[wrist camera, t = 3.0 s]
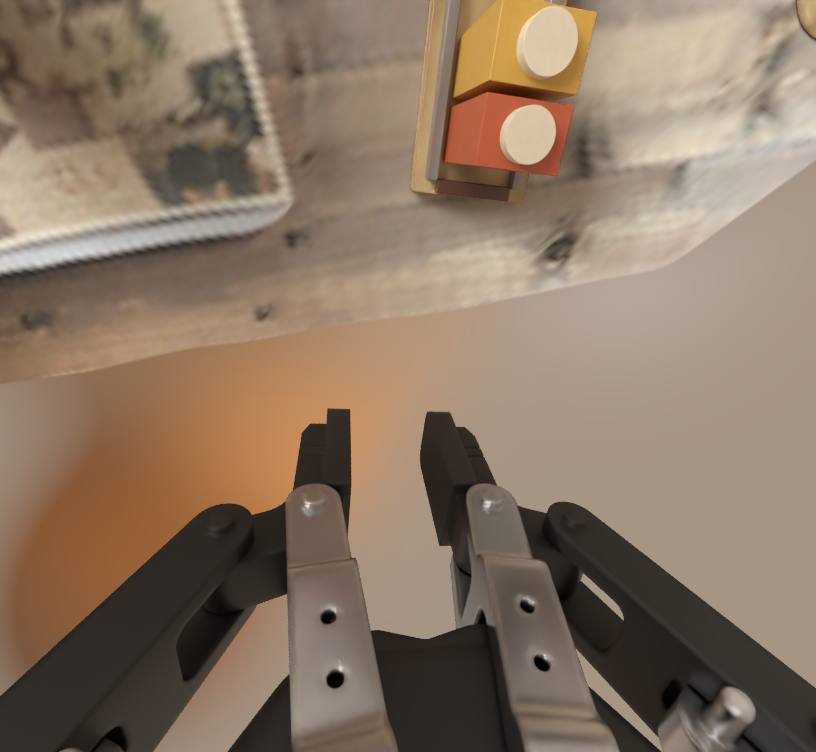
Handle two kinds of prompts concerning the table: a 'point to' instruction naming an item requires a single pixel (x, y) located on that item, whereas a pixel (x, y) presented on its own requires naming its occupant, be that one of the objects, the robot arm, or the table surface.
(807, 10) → the hand bell
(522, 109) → the block
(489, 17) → the yellow toy brick
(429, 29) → the score rail
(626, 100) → the table surface
